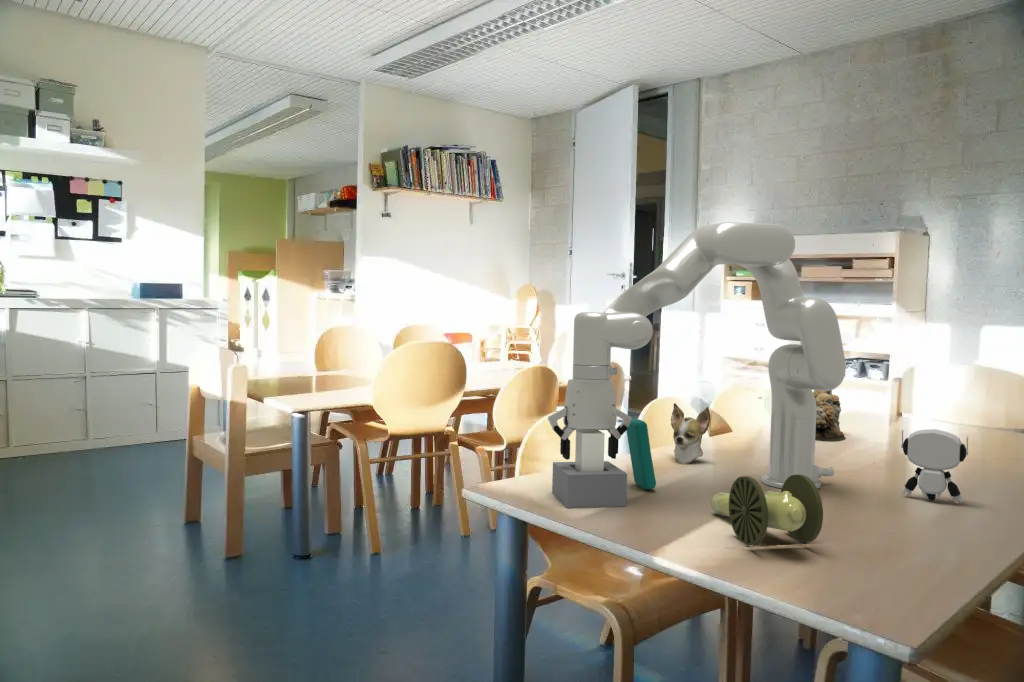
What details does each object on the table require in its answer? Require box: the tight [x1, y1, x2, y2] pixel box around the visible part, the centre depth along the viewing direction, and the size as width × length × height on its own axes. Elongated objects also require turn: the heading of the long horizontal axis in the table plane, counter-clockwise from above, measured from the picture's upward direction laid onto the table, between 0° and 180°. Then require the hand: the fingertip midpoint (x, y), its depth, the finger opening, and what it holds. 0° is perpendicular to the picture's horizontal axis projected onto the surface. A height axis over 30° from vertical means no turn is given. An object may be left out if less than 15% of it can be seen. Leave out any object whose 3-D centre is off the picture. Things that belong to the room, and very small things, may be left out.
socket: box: [551, 460, 628, 509], centre depth 153 cm, size 12×12×6 cm
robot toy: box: [900, 428, 969, 504], centre depth 159 cm, size 12×4×15 cm, turn 54°
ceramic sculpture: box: [670, 402, 711, 465], centre depth 190 cm, size 11×9×15 cm
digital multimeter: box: [626, 418, 657, 490], centre depth 163 cm, size 7×15×3 cm
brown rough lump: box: [812, 390, 846, 443], centre depth 229 cm, size 18×12×17 cm, turn 147°
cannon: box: [710, 474, 824, 547], centre depth 133 cm, size 25×12×11 cm, turn 13°
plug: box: [574, 430, 606, 472], centre depth 153 cm, size 5×5×10 cm
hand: (589, 457), depth 153 cm, fingers open, 9 cm apart
